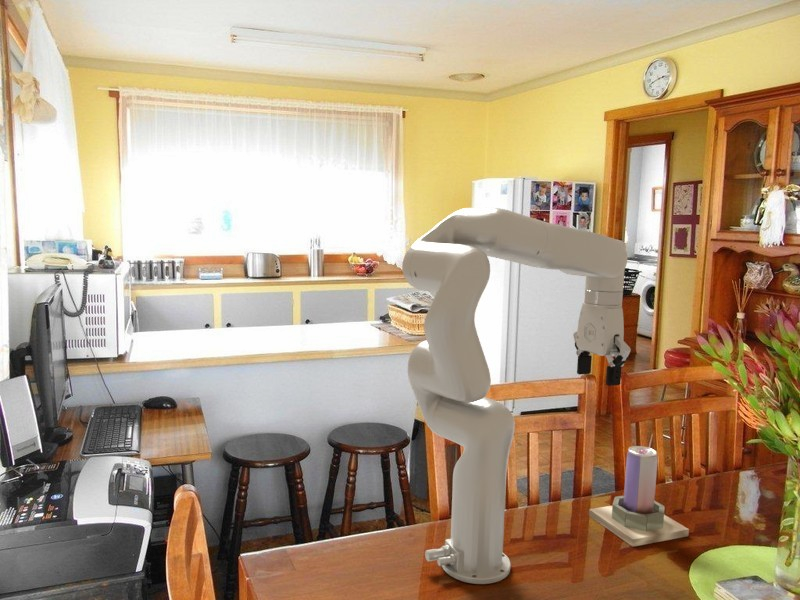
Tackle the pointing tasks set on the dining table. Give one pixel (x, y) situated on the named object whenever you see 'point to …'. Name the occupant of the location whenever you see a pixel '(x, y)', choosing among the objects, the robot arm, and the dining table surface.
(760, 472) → the dining table surface
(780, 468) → the dining table surface
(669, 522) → the can holder
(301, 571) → the dining table surface
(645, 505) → the beverage can
